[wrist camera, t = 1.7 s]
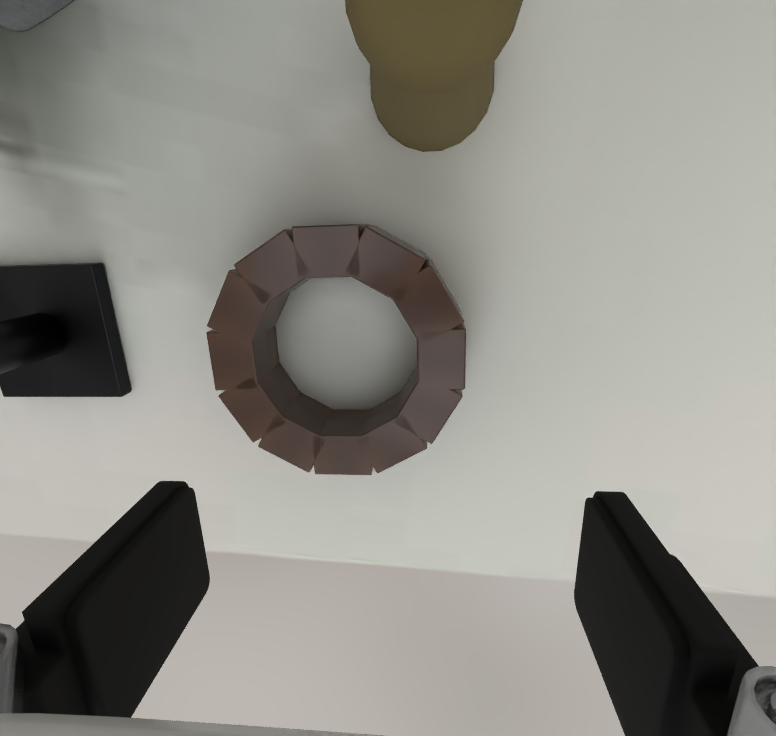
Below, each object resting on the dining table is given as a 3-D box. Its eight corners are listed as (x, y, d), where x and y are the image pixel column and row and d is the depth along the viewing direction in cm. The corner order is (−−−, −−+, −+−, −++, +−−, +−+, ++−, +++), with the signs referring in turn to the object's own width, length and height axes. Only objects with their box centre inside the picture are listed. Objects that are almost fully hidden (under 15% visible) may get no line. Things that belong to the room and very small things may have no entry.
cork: (432, 178, 23) (434, 142, 13) (345, 89, 22) (271, -27, 12) (521, 77, 22) (607, -58, 11) (430, -23, 21) (432, -274, 10)
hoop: (462, 220, 24) (468, 220, 20) (459, 445, 28) (463, 476, 24) (222, 229, 25) (189, 230, 22) (252, 443, 29) (228, 473, 26)
